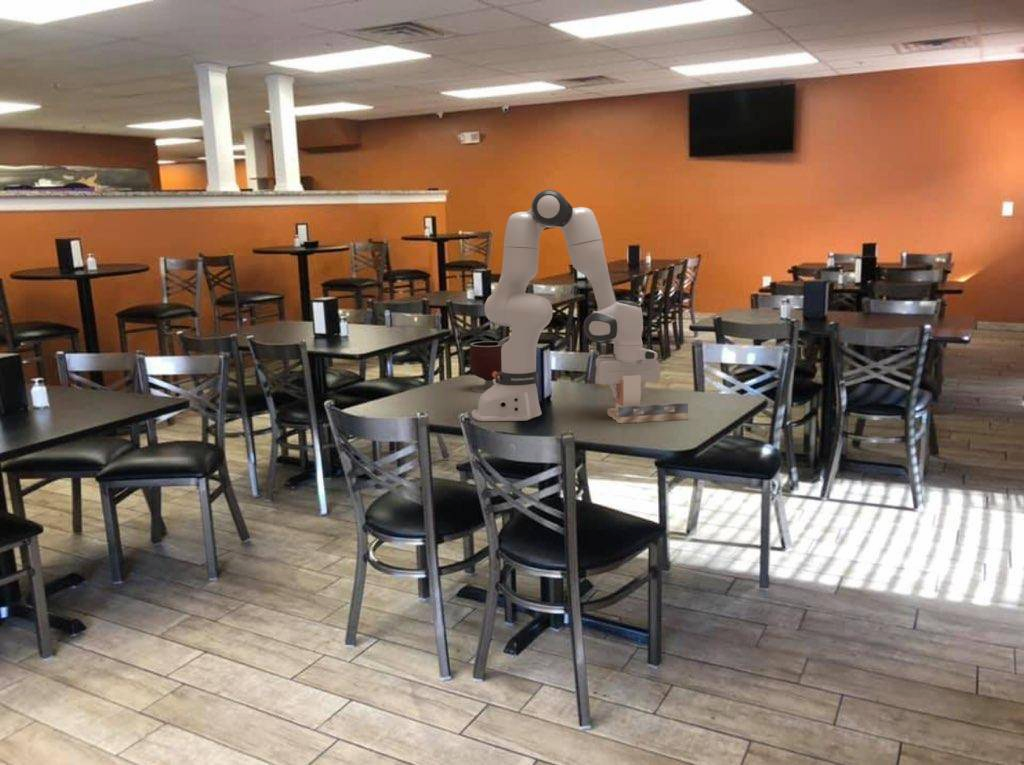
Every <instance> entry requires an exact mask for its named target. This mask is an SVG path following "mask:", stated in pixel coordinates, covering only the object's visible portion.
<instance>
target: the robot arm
mask: <svg viewBox="0 0 1024 765" xmlns="http://www.w3.org/2000/svg"><path fill="white" fill-rule="evenodd" d="M554 228H559V230H561V231H562V233H563V235H564V238H565V243H566V249H567V253H568V257H569V260H570V262H571V265H572V267H573V268H574V269H575V270H576V271H577V272H578V273H580V274H582V275H583V276H585V277H586V278H587V279H588V281H589V282H590V284H591V286H592V287H591V288H592V290H593V294H594V298H595V302H596V305H597V310H596V311H594V312H592V313H590V314H589V315H587V316H586V318H585V319H584V321H583V331H584V334H585V336H586V337H587V338H588V339H589V340H590V341H593V342H598V343H603V342H607V341H613V353H608V354H605V353H604V354H600V355H598V356H597V357H596V358H595V367H596V370H595V377H594V378H595V382H596V383H597V384H598V385H601V386H602V385H609V388H610V389H611V391H612V393H613V398H614V399H615V398H619V397H620V396H619V395H620V392H618V391H616V389H615V387H616V384H620V383H621V380H622V375H631V374H639V375H641V396H642V392H643V390H644V389H645V387H646V383H657V382H658V381H660V379H661V367H660V365H661V364H660V363H659V361H658V356H659V355H658V352H656V351H654V350H652V349H649V348H647V347H643V346H644V345H643V340H642V334H643V331H644V318H643V310H642V307H641V305H640V304H639V303H637V302H635V301H632V300H624V299H622V300H621V299H619V300H617V297H616V293H615V290H614V285H613V282H612V279H611V278H612V277H611V274H610V271H609V267H608V262H607V258H606V254H605V248H604V242H603V237H602V233H601V230H600V229H601V228H600V226H599V223H598V221H597V218H596V215H595V213H594V211H593V210H592V209H590V208H588V207H585V206H579V207H573V205H571V204H570V202H569V201H568V200H567V199H566V198H565V196H564V195H563V194H561V193H560V192H558V191H557V190H555V189H545V190H542V191H540V192H539V193H537V194H536V195H535V196H534V198H533V200H532V203H531V208H530V209H529V210H527V211H526V210H525V211H518V212H515V213H513V214H511V215H509V218H508V220H507V223H506V227H505V232H504V239H503V240H504V241H503V252H502V264H501V265H502V266H501V267H502V268H501V273H500V278H499V279H498V280H499V281H498V282H497V286H496V287H495V289H494V291H493V292H492V293H491V294H490V295H489V296H488V297H487V299H486V301H485V302H484V315H485V317H486V318H487V319H488V321H489V322H492V323H493V324H495V325H499V326H501V327H507V328H508V327H509V328H511V331H510V335H509V336H510V338H509V339H507V340H506V341H505V342H504V344H503V346H502V348H501V366H502V371H500V372H499V373H498V372H497V371H494V373H492V376H493V377H494V378H495V379H494V380H495V381H494V382H495V383H494V385H493V386H492V387H490V388H489V389H488V390H487V391H485V392H484V393H482V394H480V397H479V400H478V404H477V405H478V406H477V408H475V409H473V410H472V411H471V418H473V419H474V420H476V421H479V422H507V421H508V422H512V421H514V422H515V421H516V422H517V421H529V420H532V419H534V418H536V417H540V416H541V415H542V414H543V413H542V409H541V406H540V400H539V395H538V385H539V374H538V370H537V348H538V342H539V339H540V336H541V334H542V332H543V330H544V329H545V328H546V327H547V326H548V325H549V324H550V323H551V320H552V318H553V312H554V310H553V307H552V303H551V302H550V301H549V299H548V298H546V297H544V296H541V295H538V294H534V293H527V292H526V291H527V287H528V285H529V283H530V282H531V281H533V279H534V278H535V277H536V276H537V275H538V271H539V258H540V257H539V254H540V239H541V238H540V237H541V234H542V232H543V231H546V230H549V229H554Z"/></svg>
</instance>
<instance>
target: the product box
mask: <svg viewBox="0 0 1024 765" xmlns="http://www.w3.org/2000/svg"><path fill="white" fill-rule="evenodd" d="M615 389H616V391H618V392H620V395H619V396H620V397H619V398H614V402H615V408H616V410H618V411H619V407H625V406H641V397H642V395H641V375H639V374H631V375H622V380H621V383H620V384H616V387H615Z"/></svg>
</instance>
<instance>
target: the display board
mask: <svg viewBox="0 0 1024 765" xmlns="http://www.w3.org/2000/svg"><path fill="white" fill-rule="evenodd" d="M688 408H689V404H688V402H680V403H679V402H677V403H676V402H675V403H662V404H661V403H660V404H659V403H658V404H644V405H643V404H642V405H641V404H640V406H625V407H619V411H618V410H616V407H615V408H607V416H609V418H611V417H612V418H611V419H613V421H615V420H616V421H615V422H617V423H618V424H619V423H621V424H632V423H633V424H634V423H635V422H636V423H648V422H651V423H653V422H662V421H663V422H665V421H679V420H680V421H681V420H688V418H689V417H688V410H689V409H688ZM636 423H635V424H636Z"/></svg>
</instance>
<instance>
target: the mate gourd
mask: <svg viewBox="0 0 1024 765" xmlns="http://www.w3.org/2000/svg"><path fill="white" fill-rule="evenodd" d="M509 338H510V335H509V336H506V337H504V338H502V339H501V340H499V341H496V340H494V341H493V340H492V341H491V340H489V341H488V340H487V341H486V340H485V341H475V342H472V343H470V349H469V365H470V369H471V372H472V373H473V374H474V375H475V377H478V378H480V379H483V380H484V384H482V385H476V386H474V387H472V391H473V392H475V393H482V394H483V393H484V392H485V391H487V390H488V389H489V388H490V387H492V386H493V385H494V384H495V383H494V380H495V378H494V377H493V376H492V373H494V371H497V372H498V373H499V372H500V371H502V366H501V348H502V346H503V344H504V343H506V342H507V341H508V340H509Z"/></svg>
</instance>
